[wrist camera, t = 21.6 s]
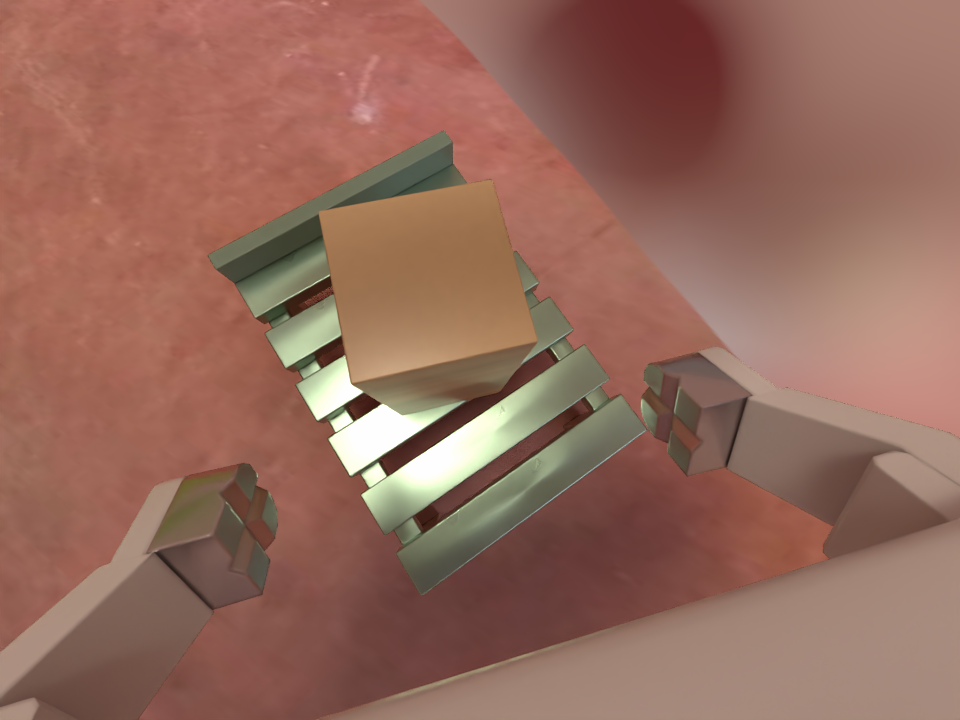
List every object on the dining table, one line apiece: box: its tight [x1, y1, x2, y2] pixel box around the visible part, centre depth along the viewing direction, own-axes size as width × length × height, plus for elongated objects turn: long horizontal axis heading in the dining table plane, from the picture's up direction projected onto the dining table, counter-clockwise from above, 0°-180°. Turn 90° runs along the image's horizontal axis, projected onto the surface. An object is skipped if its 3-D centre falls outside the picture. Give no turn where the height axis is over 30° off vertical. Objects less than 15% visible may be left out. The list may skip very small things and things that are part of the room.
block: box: [319, 179, 538, 416], centre depth 15 cm, size 4×4×9 cm
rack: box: [208, 130, 647, 596], centre depth 21 cm, size 17×12×8 cm
